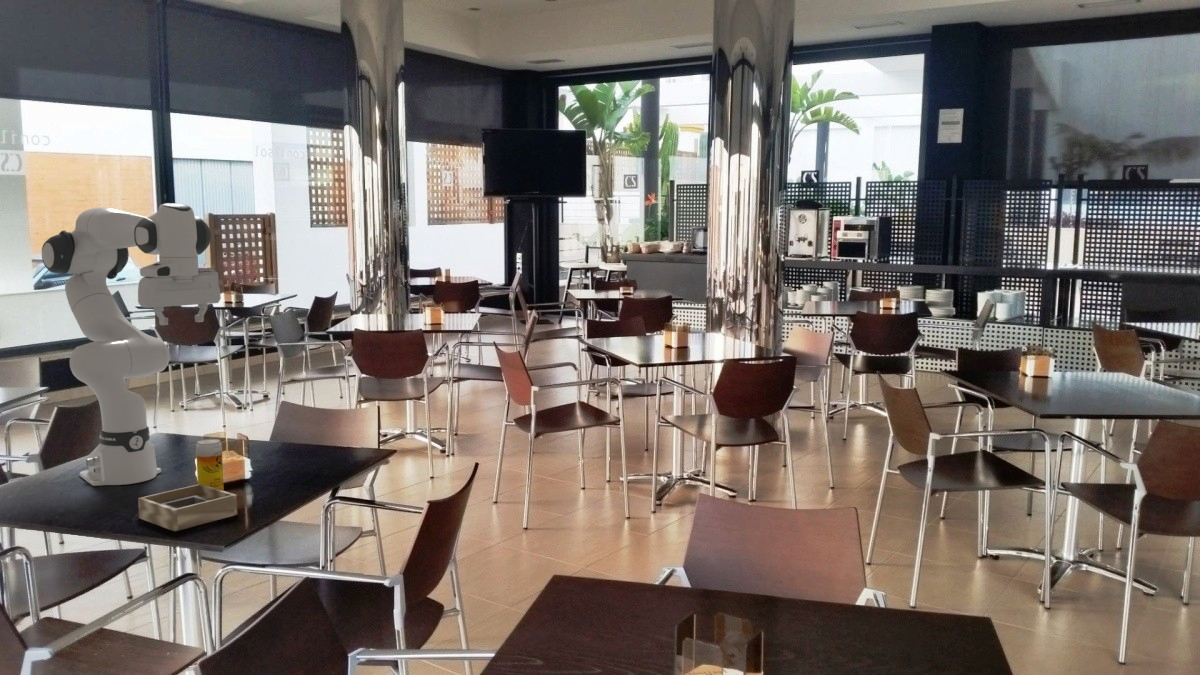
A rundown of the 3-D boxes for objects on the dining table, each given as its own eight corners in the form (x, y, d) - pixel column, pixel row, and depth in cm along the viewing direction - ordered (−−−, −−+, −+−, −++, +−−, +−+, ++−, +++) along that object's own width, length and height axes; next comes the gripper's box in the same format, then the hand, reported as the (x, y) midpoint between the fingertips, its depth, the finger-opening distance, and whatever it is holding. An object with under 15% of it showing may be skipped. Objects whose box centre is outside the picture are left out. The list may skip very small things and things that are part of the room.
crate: (139, 518, 228) (138, 498, 227) (201, 502, 240) (200, 483, 240) (174, 531, 218) (173, 510, 217) (237, 514, 231) (236, 494, 230)
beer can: (214, 502, 241) (212, 444, 239) (193, 500, 242) (190, 443, 241) (228, 495, 247) (226, 439, 245) (207, 494, 248) (205, 438, 246)
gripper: (210, 266, 247) (212, 319, 249) (133, 269, 231) (136, 325, 232) (224, 267, 243) (226, 321, 245) (146, 270, 227) (149, 327, 229)
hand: (181, 323), depth 239 cm, fingers open, 8 cm apart
